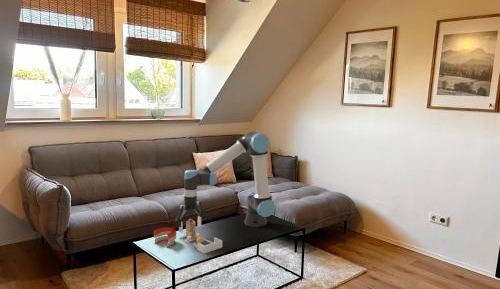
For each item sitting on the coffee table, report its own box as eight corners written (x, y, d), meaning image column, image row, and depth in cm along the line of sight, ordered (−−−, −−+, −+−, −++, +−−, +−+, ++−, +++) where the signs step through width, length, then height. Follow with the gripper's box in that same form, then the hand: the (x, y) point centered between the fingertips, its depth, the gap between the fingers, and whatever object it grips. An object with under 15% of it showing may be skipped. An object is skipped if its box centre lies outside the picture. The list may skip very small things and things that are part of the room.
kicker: (194, 236, 228) (194, 217, 227) (199, 238, 224) (199, 219, 223) (183, 239, 223) (183, 220, 221) (188, 242, 219) (188, 222, 217)
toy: (181, 242, 219) (181, 229, 218) (169, 248, 210) (168, 235, 209) (165, 237, 225) (165, 225, 224) (153, 243, 216) (152, 230, 215)
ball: (200, 241, 220) (200, 235, 220) (204, 243, 217) (204, 237, 217) (195, 243, 217) (195, 236, 217) (199, 245, 215) (199, 238, 214)
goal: (215, 243, 217) (215, 237, 217) (222, 247, 213) (222, 240, 212) (197, 249, 208) (197, 243, 208) (204, 253, 204) (204, 246, 203)
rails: (194, 234, 231) (194, 232, 231) (214, 244, 217) (214, 242, 217) (179, 239, 223) (179, 237, 223) (198, 249, 209) (198, 247, 209)
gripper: (203, 191, 232) (203, 223, 235) (169, 197, 215) (169, 232, 217) (210, 193, 226) (210, 226, 229) (176, 200, 209) (176, 236, 212)
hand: (190, 229), depth 223 cm, fingers open, 13 cm apart
